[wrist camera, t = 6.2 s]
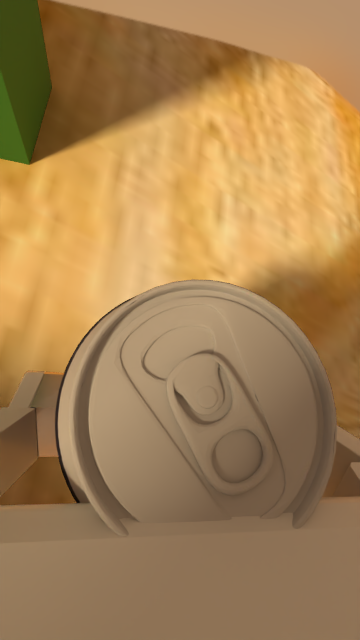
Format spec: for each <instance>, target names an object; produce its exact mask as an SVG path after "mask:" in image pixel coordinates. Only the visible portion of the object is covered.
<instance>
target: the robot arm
mask: <svg viewBox="0 0 360 640" xmlns="http://www.w3.org/2000/svg"><path fill="white" fill-rule="evenodd" d="M63 375H64V373H58V372H41V371H27V372H26V373H25V375H24V376H23V378H22V380H21V382H20V384H19V386H18V388H17V390H16V392H15V394H14V396H13V398H12V400H11V402H10V404H9V406H8V407H2V408H0V497H1V496H2V495H3V494H4V493H5V492H6V491H7V490H8V489H9V488H10V487H11V486H12V485H13V484H14V483H15V482H16V481H17V480H18V479H19V478H20V477H21V476H22V475H23V473H24V472H25V471H26V470H27V469H28V468H29V467H30V466H31V465H32V464H33V463H34V462H35V461H36V460H37V459H38V457H56V456H58V452H57V447H56V438H55V411H56V403H57V397H58V392H59V388H60V384H61V381H62V378H63ZM231 518H232V519H230V520H221V521H198V522H172V523H141V522H139V521H138V520H137V519H136V518H122V519H119V520H120V521H121V523H122V524H123V525H124V527H125V528H126V529H127V531H128V533H129V535H128V536H126V537H125V536H120V535H117V534H116V533H115V532H113V531H112V530H111V529H110V528H109V527H108V526H107V525H106V523H105V522H104V521H103V520H102V519H101V518H100V516H99V515H98V513H97V512H96V511H95V509H94V508H93V506H92V504H91V503H66V504H25V505H0V640H360V439H358V438H357V437H355V436H353V435H352V434H350V433H349V432H347V431H345V430H344V429H342V428H341V427H339V426H338V425H337V439H336V452H335V457H334V462H333V467H332V471H331V475H330V477H329V480H328V483H327V486H326V488H325V491H324V494H323V495H322V497H321V499H320V501H319V503H318V504H317V506H316V508H315V510H314V512H313V513H312V515H311V516H310V517H309V518H308V520H307V521H306V522H305V524H304V525H303V526H302V527H301V528H298V529H295V528H293V526H292V520H293V513H282V514H281V515H280V516H278V517H277V518H273V519H260V516H242V517H231Z"/></svg>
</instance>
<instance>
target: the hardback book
mask: <svg viewBox="0 0 360 640" xmlns="http://www.w3.org/2000/svg"><path fill="white" fill-rule="evenodd" d="M51 88H52V85H51V79H50V73H49V67H48V61H47V55H46V49H45V43H44V38H43V32H42V26H41V20H40V14H39V8H38V2H37V0H0V158H1V159H5V160H10V161H15V162H19V163H24V164H29V165H30V161H31V158H32V154H33V151H34V147H35V144H36V140H37V137H38V133H39V130H40V127H41V123H42V120H43V116H44V113H45V109H46V106H47V102H48V99H49V95H50V92H51Z"/></svg>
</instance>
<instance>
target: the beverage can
mask: <svg viewBox="0 0 360 640" xmlns="http://www.w3.org/2000/svg"><path fill="white" fill-rule="evenodd" d="M55 438H56V447H57V452H58V458H59V462H60V465H61V469H62V472H63V475H64V478H65V480H66V483H67V485H68V487H69V489H70V491H71V494H72V496H73V497H74V499H75V501H76V502H77V503H91V504H92V506H93V508H94V509H95V511H96V512H97V513H98V515H99V516H100V518H101V519H102V520H103V521H104V522H105V523H106V525H107V526H108V527H109V528H110V529H111V530H112V531H113V532H115V533H116V534H117V535H120V536H125V537H126V536H128V535H129V533H128V531H127V529H126V528H125V527H124V525H123V524H122V523H121V521H120V520H119V519H122V518H136V519H137V520H138V521H139V522H141V523H172V522H198V521H221V520H230V519H232V518H231V517H242V516H260V519H273V518H277V517H278V516H280V515H281V514H282V513H293V520H292V526H293V528H295V529H298V528H301V527H302V526H303V525H304V524H305V522H306V521H307V520H308V518H309V517H310V516H311V515H312V513H313V512H314V510H315V508H316V506H317V504H318V503H319V501H320V499H321V497H322V495H323V494H324V491H325V488H326V486H327V483H328V480H329V477H330V475H331V471H332V467H333V462H334V457H335V452H336V439H337V420H336V408H335V403H334V398H333V393H332V388H331V385H330V382H329V379H328V376H327V373H326V370H325V368H324V366H323V364H322V362H321V360H320V358H319V356H318V354H317V352H316V350H315V349H314V347H313V346H312V344H311V343H310V341H309V340H308V338H307V336H306V335H305V334H304V333H303V332H302V330H301V329H300V328H299V327H298V326H297V325H296V323H295V322H294V321H293V320H292V319H291V318H290V317H289V316H287V315H286V314H285V313H284V312H283V311H282V310H281V309H280V308H278V307H277V306H275V305H274V304H272V303H271V302H269V301H268V300H267V299H265V298H264V297H262V296H260V295H258V294H256V293H254V292H252V291H250V290H247V289H245V288H242V287H239V286H236V285H233V284H230V283H224V282H219V281H213V280H186V281H178V282H172V283H169V284H165V285H162V286H158V287H155V288H153V289H150V290H148V291H146V292H144V293H142V294H140V295H138V296H135V297H133V298H131V299H129V300H127V301H125V302H123V303H122V304H120V305H118V306H117V307H115V308H114V309H112V310H111V311H110V312H108V313H107V314H106V315H105V316H103V317H102V318H101V319H100V320H99V321H98V322H97V323H96V324H95V325H94V326H93V327H92V328H91V329H90V330H89V331H88V333H87V334H86V335H85V336H84V338H83V339H82V340H81V342H80V343H79V345H78V346H77V348H76V350H75V351H74V353H73V355H72V357H71V359H70V361H69V363H68V365H67V367H66V370H65V372H64V375H63V378H62V381H61V384H60V388H59V392H58V397H57V403H56V411H55Z"/></svg>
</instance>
